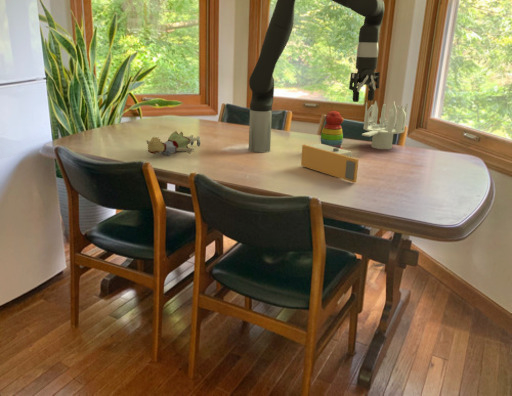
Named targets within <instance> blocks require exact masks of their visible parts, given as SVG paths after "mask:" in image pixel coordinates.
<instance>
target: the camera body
mask: <svg viewBox="0 0 512 396" xmlns="http://www.w3.org/2000/svg"><path fill="white" fill-rule="evenodd" d="M308 146H312V147H315V148H319V149H323V150H326V151H330V152H334V153H337V154H341V155H345V156H348V157H352V153H353V152H352V151H351V150H347V149H344V148H343V149H339V148H336V147H332V146H328V145H324V144H321V142H320V143H314V144H308ZM318 172H320V171H318ZM320 173H321V172H320Z"/></svg>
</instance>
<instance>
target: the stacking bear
mask: <svg viewBox="0 0 512 396" xmlns="http://www.w3.org/2000/svg"><path fill="white" fill-rule="evenodd" d="M344 121H345V120H344V117H342V115H341V113H340V112H339V111H335V110H331V111H329V112H327V114H326V116H325V122H326V124H325V125H324V126H323V128H322V131H321V133H320V144H324V145H328V146H332V147H336V148H339V149H343V150H344V148H343V147H342V143H343V140H344V133H343V128H342V127H343V126H342V125H341V124H342V123H344Z"/></svg>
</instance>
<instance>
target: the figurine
mask: <svg viewBox="0 0 512 396" xmlns="http://www.w3.org/2000/svg"><path fill="white" fill-rule="evenodd" d="M195 141H196V146H197V147H200V146H201V139H200V136H199V135H198V136H197V137H194V135H193V134H191V135H190V136H187V135H186V136H185V135H184V133H183V131H181V132H180V133H178V132H177V131H176V130H175V131H173V132H172V133H171V134H170V135H169V137H168V139H167V140H166V141H164V142H163V141H161V138H159V137H156V136H153V137H152V138H151V139H150V140H148V139H147V140H146V144H147V151H148V152H149V153H150V154H153V155H155V154H159V153H161V154H162V155H165V154H166V156H171V155H172V153H174V154H176V153H177V152H187V153H188V154H190V155H191V153H192V151H193V148H190V147H188V145H191V146H193V145H194V143H195Z"/></svg>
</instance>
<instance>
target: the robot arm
mask: <svg viewBox="0 0 512 396" xmlns="http://www.w3.org/2000/svg"><path fill="white" fill-rule="evenodd" d="M331 1H332V2H334V3H336V4H338V5H340V6H341V7H342V6H343V7H344V8H347V9H350V10H352V11H353V12H355V14H356V13H357V14H358V15H360V16H362V17H364V21H363V25H361V26H360V28H359V31H358V32H359V33H358V34H359V35H358V42H357V49H356V62H355V69H356V70H357V71H356V72H351V73H350V78H349V85H348V89H349V90H350V91H352V102H354V103H358V102H359V99H360V90H361V89H362V88H363V87H364V85H365V86H367V89H368V91H367V101H370V102H371V101H374V97H375V92H376V89H379V88H380V78H381V77H380V75H381V72H379V71H375V70H377V68H378V59H379V58H378V56H379V38H380V29H381V26H382V22H383V18H384V14H385V3H384V0H331ZM295 4H296V0H276V3H275V6H274V9H273V12H272V15H271V18H270V21H269V24H268V26H267V29H266V32H265V35H264V36H265V37H264V38H263V42H262V45H261V49H260V53H259V56H258V59H257V62H256V64H255V66H254V69H253V70H252V73H251V74H250V77H249V80H248V85H249V89H250V90H251V100H250V103H249V129H248V152H254V153H267V152H268V153H269V152H270V151H271V142H272V141H271V140H272V139H271V137H272V113H273V103H274V95H275V94H274V93H275V78H274V76H273V75H274V71H275V69H276V65H277V62H278V61H279V59H280V57H281V55H282V54H283V53H284V50H285V48H286V46H287V44H288V42H289V39H290V37H291V34H292V33H293V32H292V31H293V28H294V22H295V6H296V5H295Z"/></svg>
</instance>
